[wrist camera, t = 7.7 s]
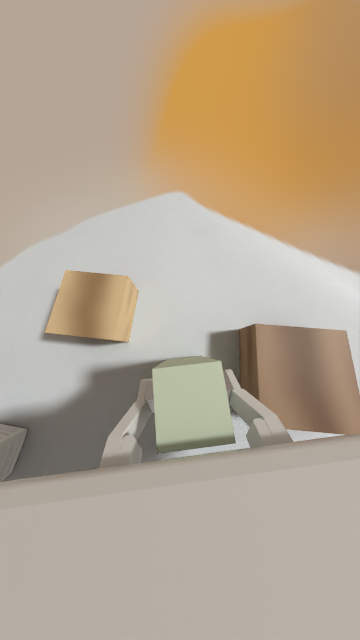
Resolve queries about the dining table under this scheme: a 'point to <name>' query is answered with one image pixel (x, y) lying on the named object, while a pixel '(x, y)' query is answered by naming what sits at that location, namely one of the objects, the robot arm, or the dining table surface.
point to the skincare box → (10, 448)
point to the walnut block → (301, 376)
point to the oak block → (94, 306)
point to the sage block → (191, 404)
